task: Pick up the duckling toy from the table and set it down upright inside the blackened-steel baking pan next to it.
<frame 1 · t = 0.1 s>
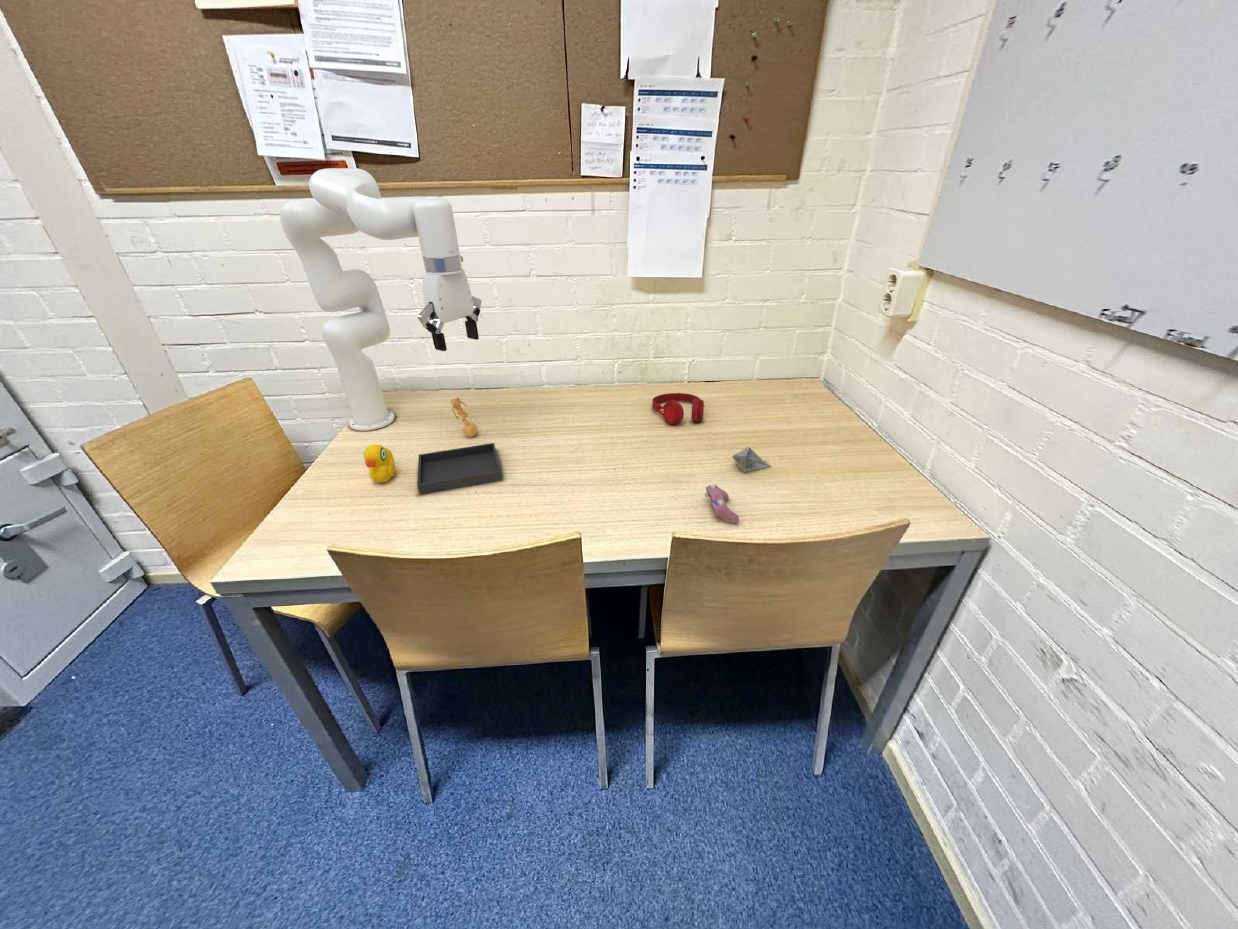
hand: (457, 344, 113), 31 cm above the table, tool pointing down, fingers open, 9 cm apart
figurine: (467, 436, 142), on the table
paper boat: (748, 471, 124), on the table
headphones: (677, 413, 153), on the table
duckling: (385, 479, 122), on the table
pink elongated piece: (720, 512, 109), on the table
pan: (460, 471, 125), on the table
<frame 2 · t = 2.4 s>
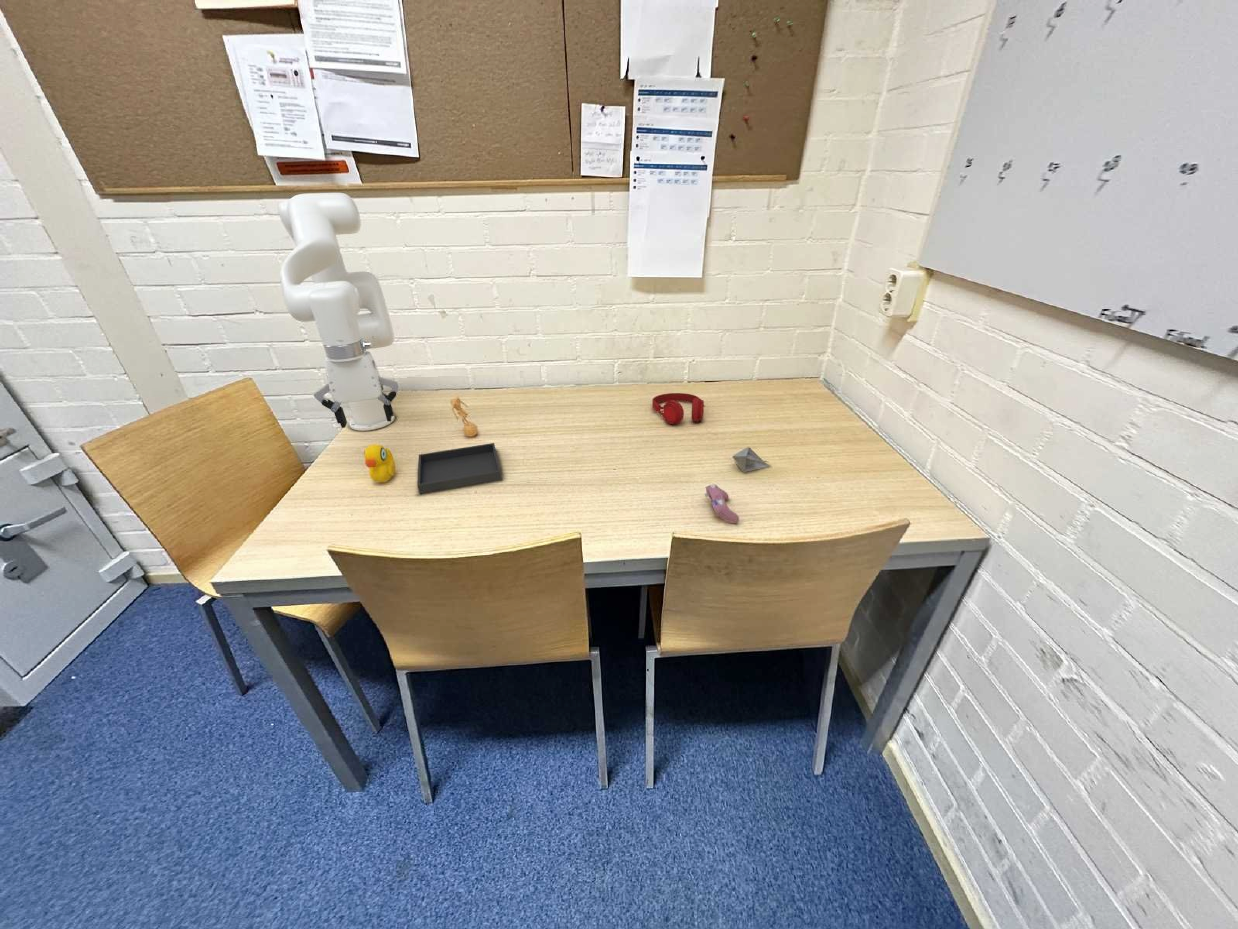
hand: (367, 422, 114), 16 cm above the table, tool pointing down, fingers open, 9 cm apart
nothing on the table moved.
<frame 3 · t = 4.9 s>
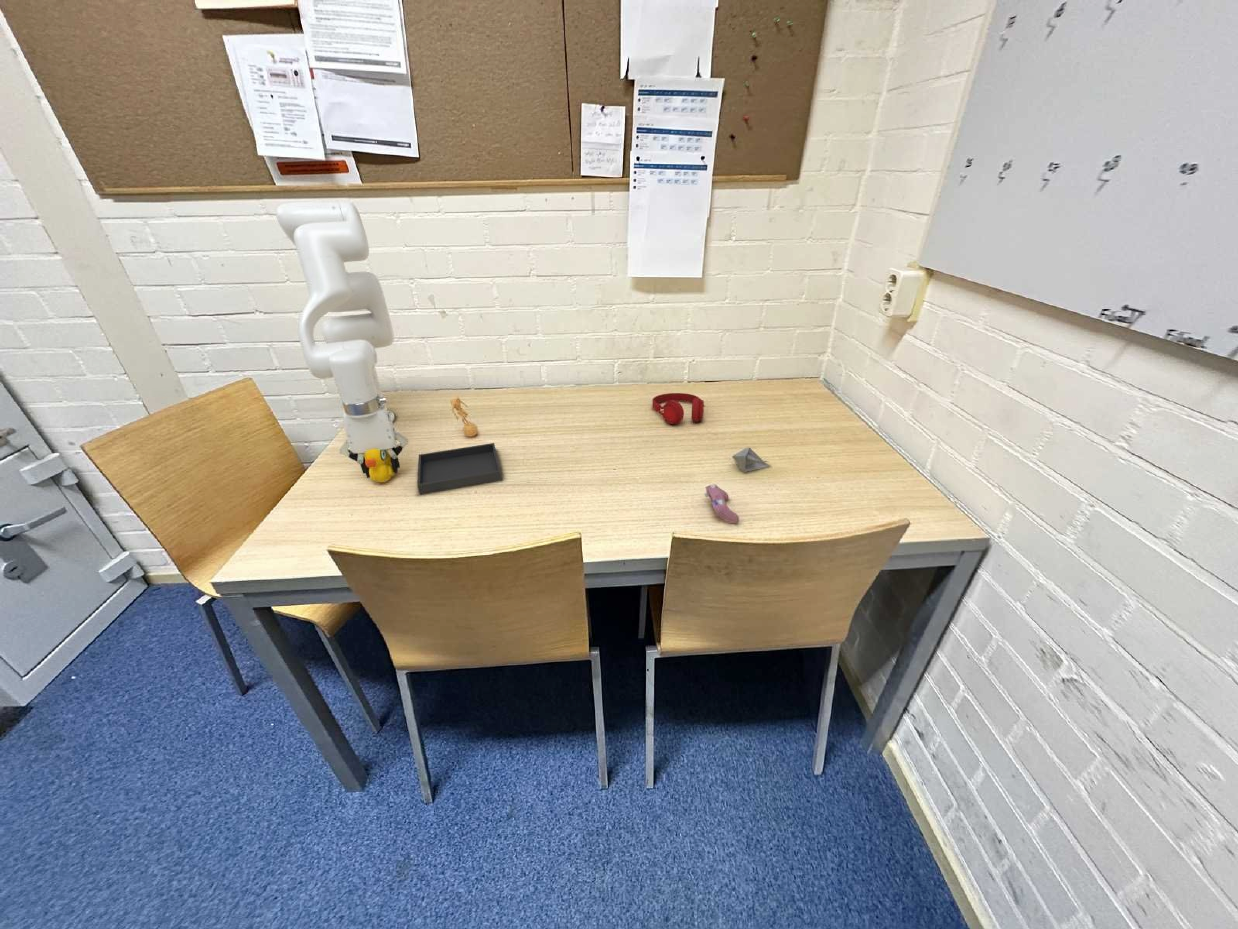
hand: (382, 472, 121), 2 cm above the table, tool pointing down, fingers closed on duckling, 5 cm apart
duckling: (385, 479, 122), on the table, touching gripper
everything else where it was.
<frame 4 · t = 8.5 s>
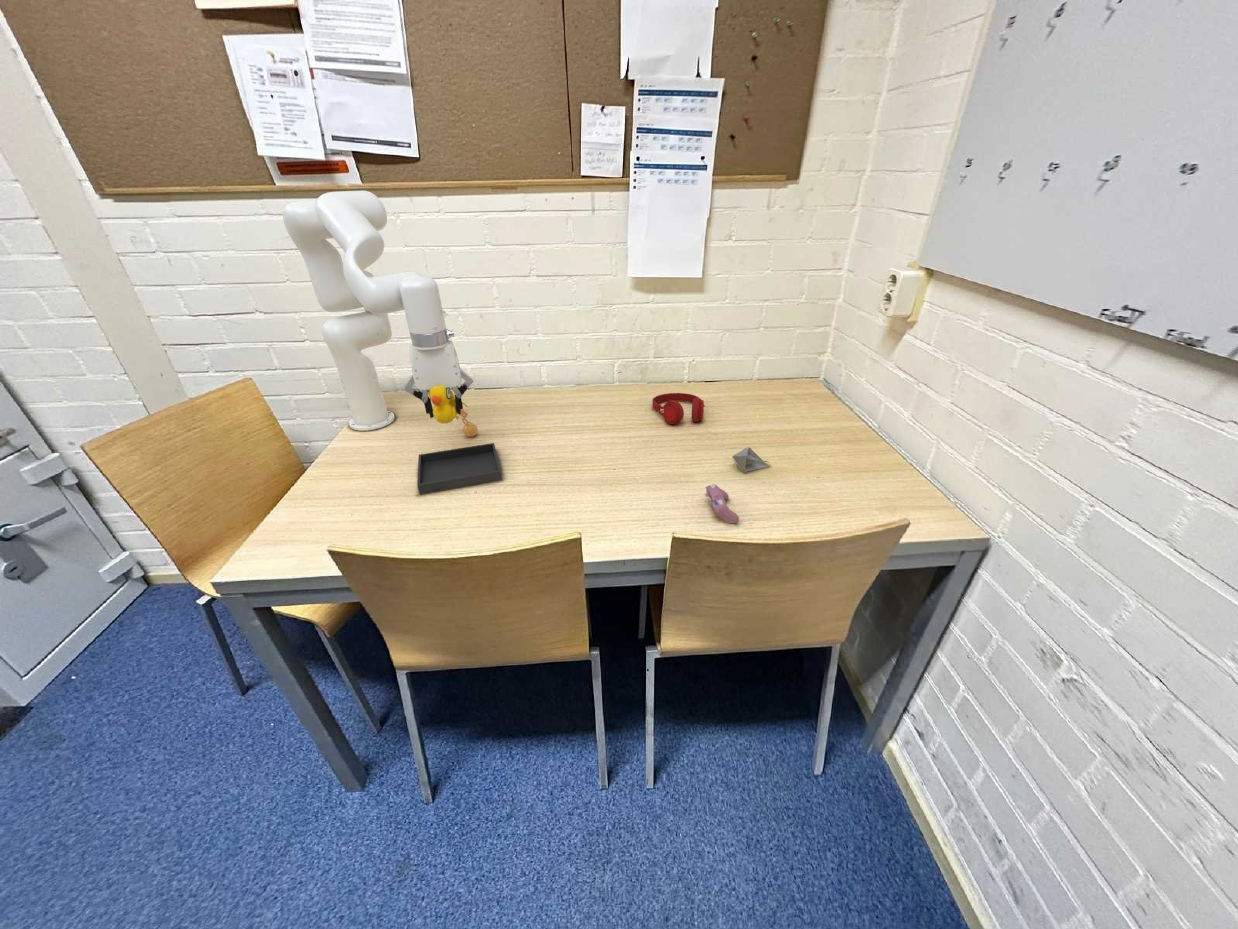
hand: (445, 413, 116), 16 cm above the table, tool pointing down, fingers closed on duckling, 5 cm apart
duckling: (447, 421, 117), point 14 cm above the table, touching gripper
everything else where it was.
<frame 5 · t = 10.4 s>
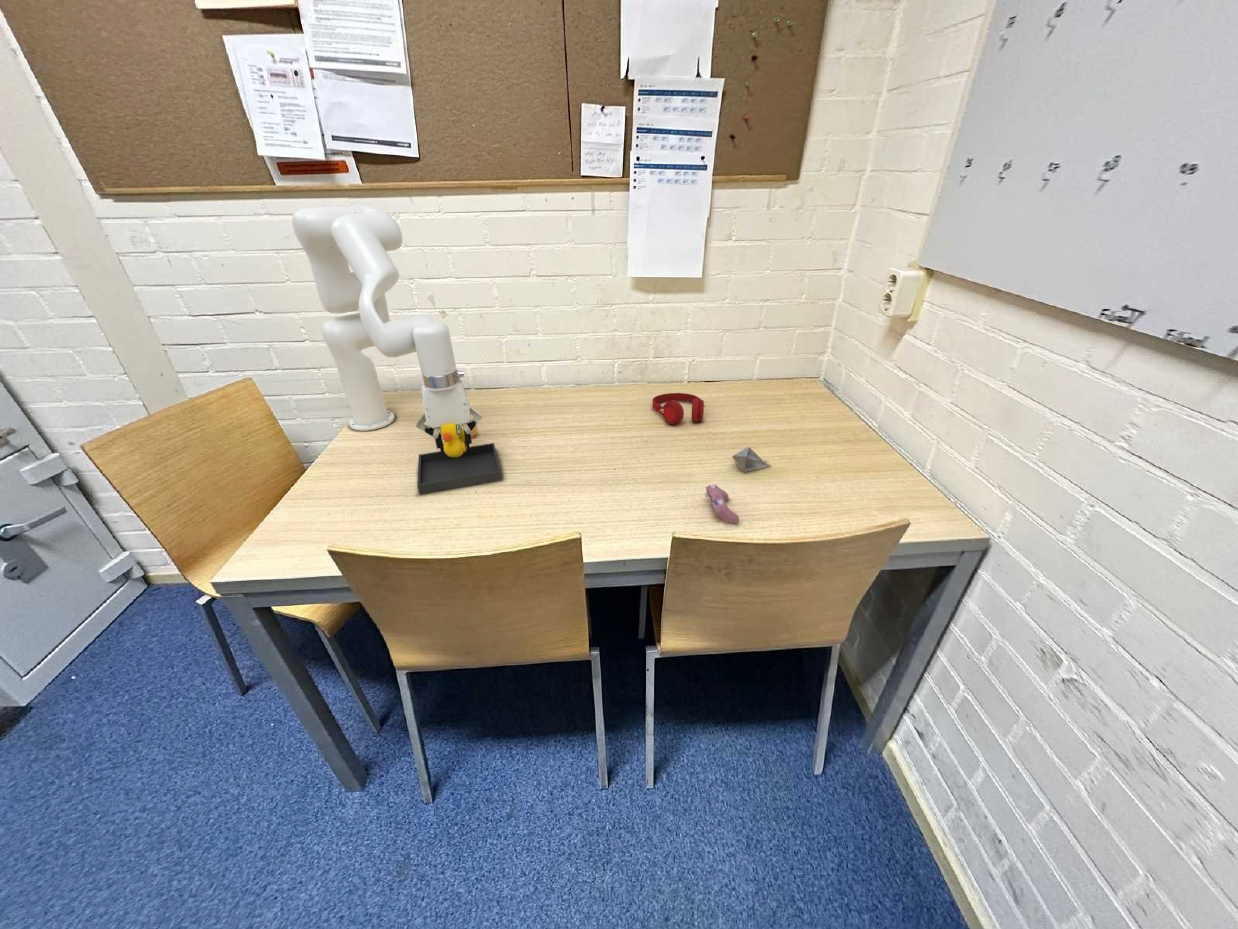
hand: (455, 447, 121), 7 cm above the table, tool pointing down, fingers closed on duckling, 5 cm apart
duckling: (456, 455, 122), point 5 cm above the table, touching gripper
everything else where it was.
when the fingers open (3 cm above the table, at t = 12.0 s): duckling stays where it is, resting on pan.
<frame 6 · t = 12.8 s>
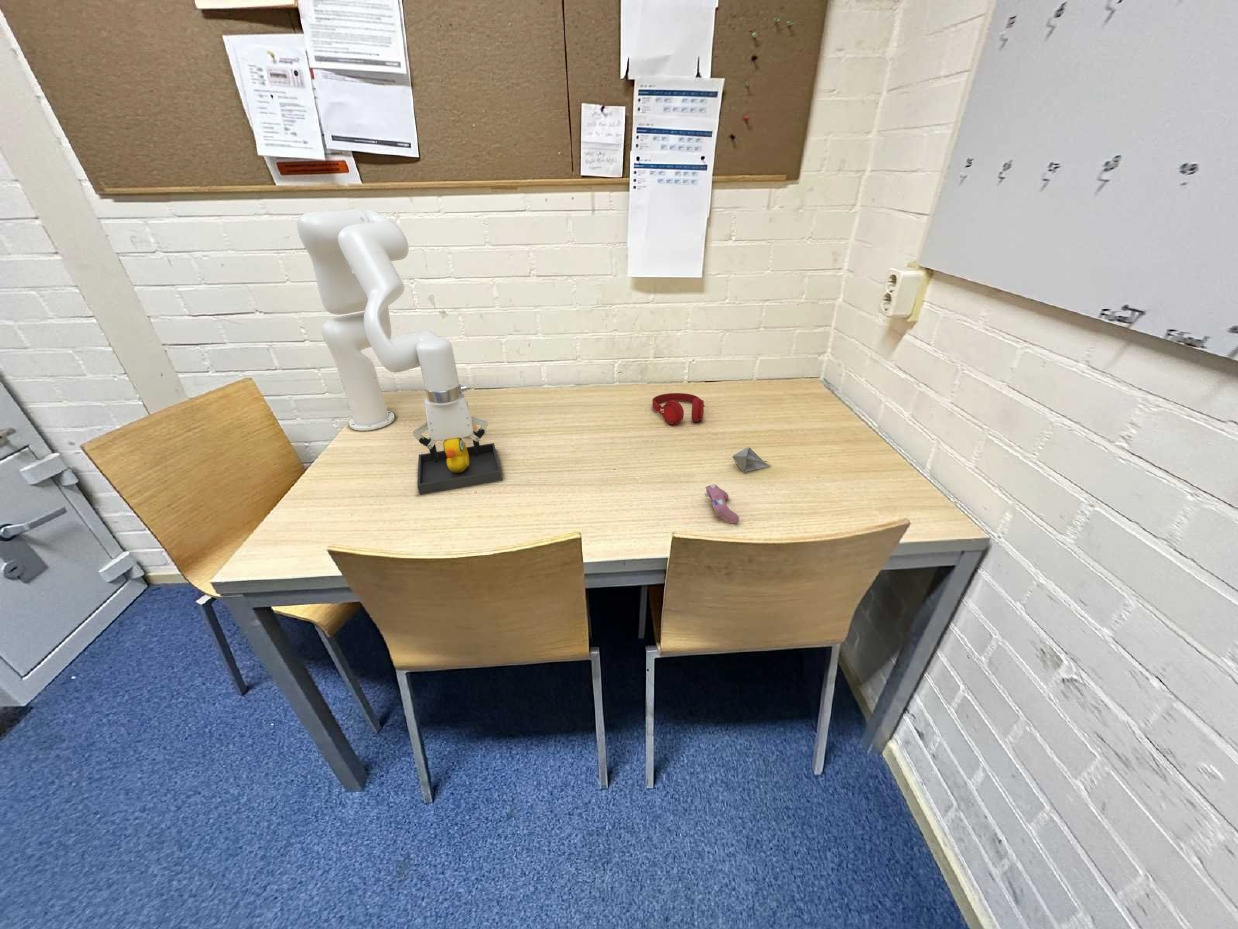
hand: (456, 456, 123), 4 cm above the table, tool pointing down, fingers open, 9 cm apart
duckling: (459, 470, 125), resting on pan
everything else where it was.
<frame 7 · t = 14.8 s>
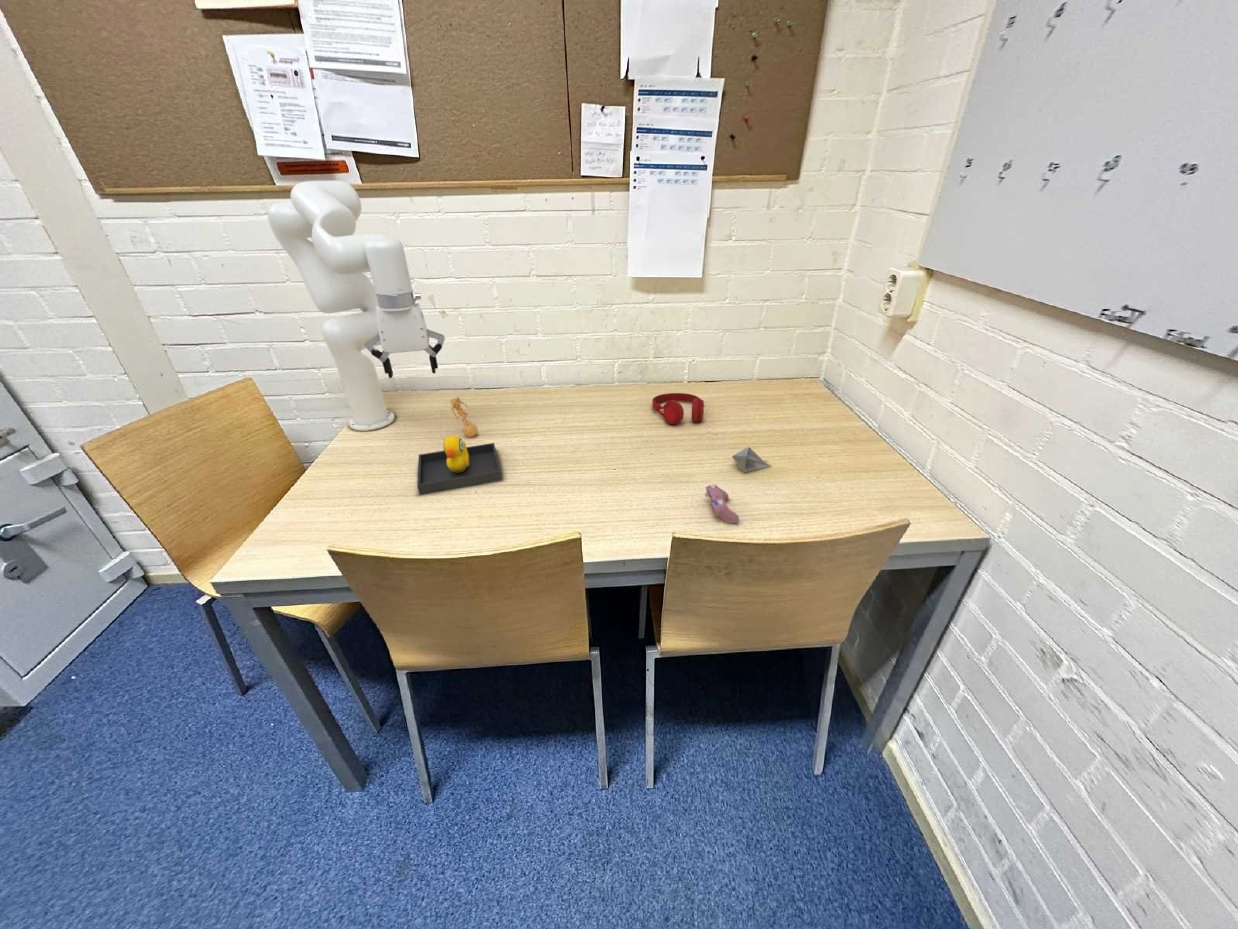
hand: (412, 373, 117), 24 cm above the table, tool pointing down, fingers open, 9 cm apart
nothing on the table moved.
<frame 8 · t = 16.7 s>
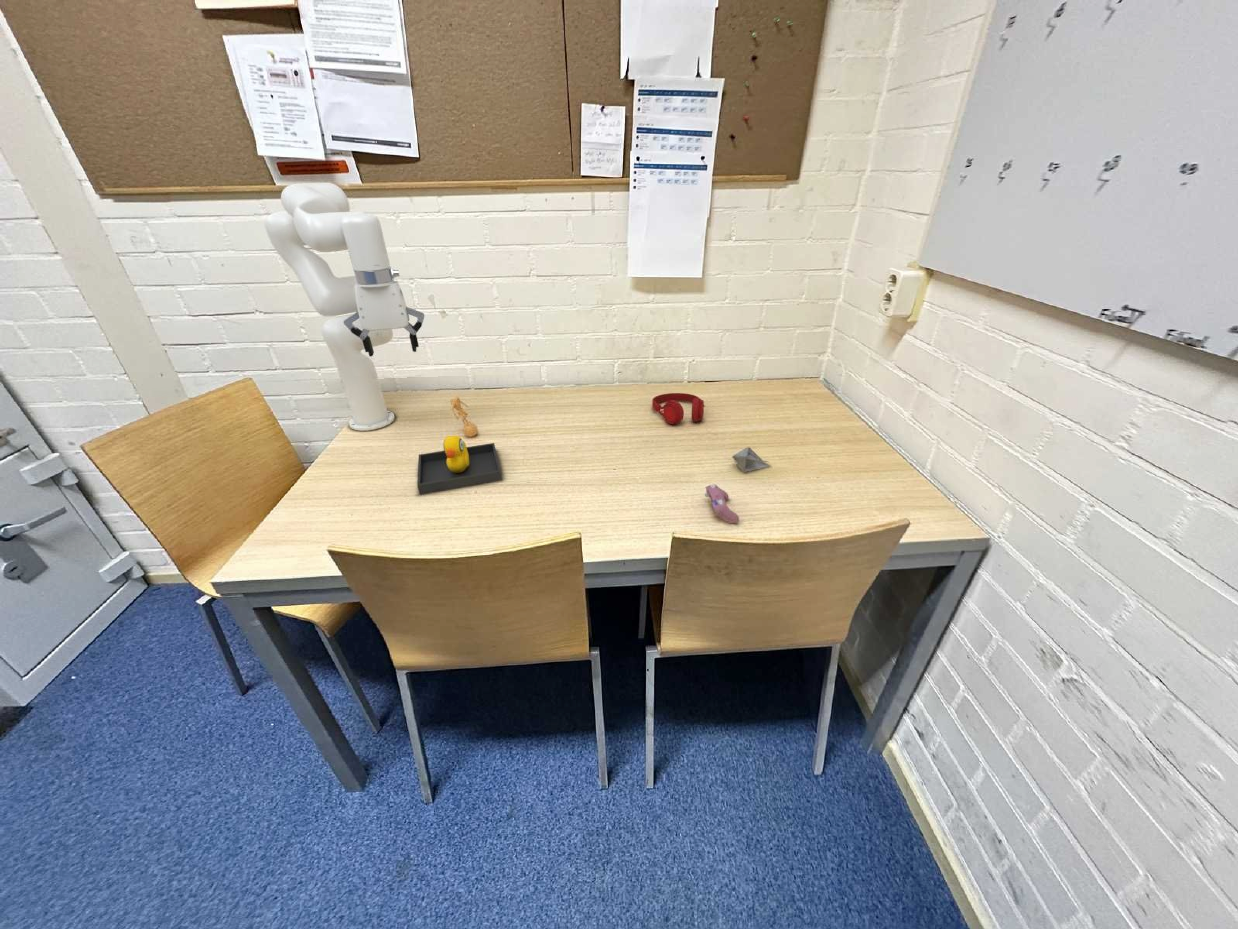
hand: (393, 352, 118), 28 cm above the table, tool pointing down, fingers open, 9 cm apart
nothing on the table moved.
at the end: duckling inside the target area in the pan (0.1 cm from its centre), point 0.3 cm above the pan's base; duckling tilted 0°; the gripper is holding nothing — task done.
